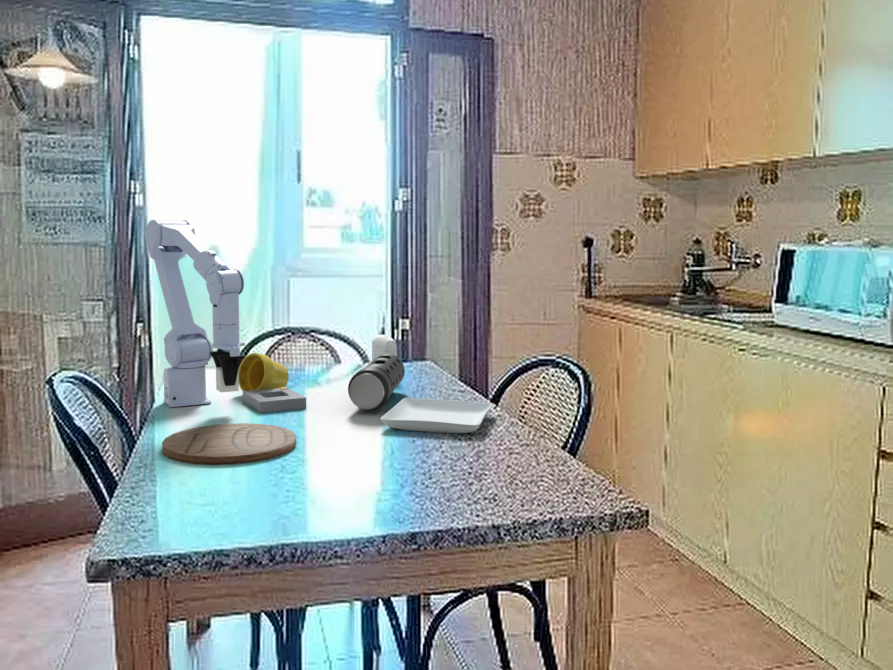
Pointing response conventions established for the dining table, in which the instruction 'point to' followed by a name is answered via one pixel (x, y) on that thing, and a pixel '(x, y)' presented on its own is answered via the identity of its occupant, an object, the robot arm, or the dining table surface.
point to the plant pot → (261, 373)
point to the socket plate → (274, 399)
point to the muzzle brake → (376, 382)
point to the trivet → (229, 444)
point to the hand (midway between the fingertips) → (227, 383)
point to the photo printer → (383, 346)
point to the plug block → (221, 385)
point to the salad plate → (436, 415)
